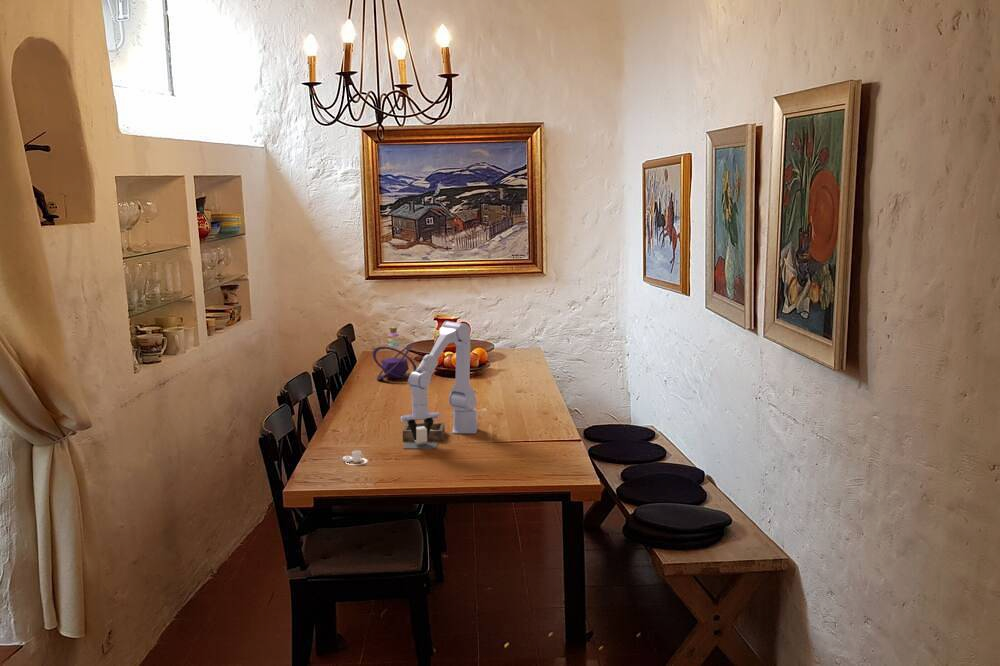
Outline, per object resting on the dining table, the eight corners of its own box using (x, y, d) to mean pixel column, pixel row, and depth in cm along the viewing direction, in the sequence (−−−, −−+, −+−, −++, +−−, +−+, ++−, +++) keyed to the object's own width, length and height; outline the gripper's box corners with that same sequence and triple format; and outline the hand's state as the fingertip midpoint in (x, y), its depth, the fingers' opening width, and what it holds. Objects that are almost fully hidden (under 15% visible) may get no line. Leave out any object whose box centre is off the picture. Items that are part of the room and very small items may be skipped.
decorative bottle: (372, 373, 456) (370, 324, 451) (414, 371, 460) (413, 322, 455) (374, 384, 434) (372, 332, 429) (418, 381, 438) (417, 330, 433)
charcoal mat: (437, 442, 344) (437, 441, 344) (435, 449, 337) (435, 448, 337) (406, 442, 345) (406, 441, 345) (403, 449, 337) (403, 448, 337)
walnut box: (444, 432, 357) (444, 422, 356) (442, 441, 346) (442, 430, 345) (406, 432, 357) (406, 422, 356) (402, 441, 346) (402, 431, 346)
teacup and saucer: (339, 462, 324) (338, 451, 323) (357, 457, 330) (357, 446, 329) (353, 468, 318) (353, 456, 317) (372, 462, 324) (371, 451, 323)
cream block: (424, 438, 343) (423, 426, 342) (427, 441, 339) (426, 429, 338) (413, 440, 342) (413, 427, 341) (416, 443, 338) (416, 430, 337)
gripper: (435, 398, 344) (436, 433, 346) (398, 402, 339) (399, 437, 341) (441, 403, 337) (441, 438, 340) (402, 407, 332) (403, 443, 335)
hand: (420, 438), depth 340 cm, fingers closed on cream block, 4 cm apart
